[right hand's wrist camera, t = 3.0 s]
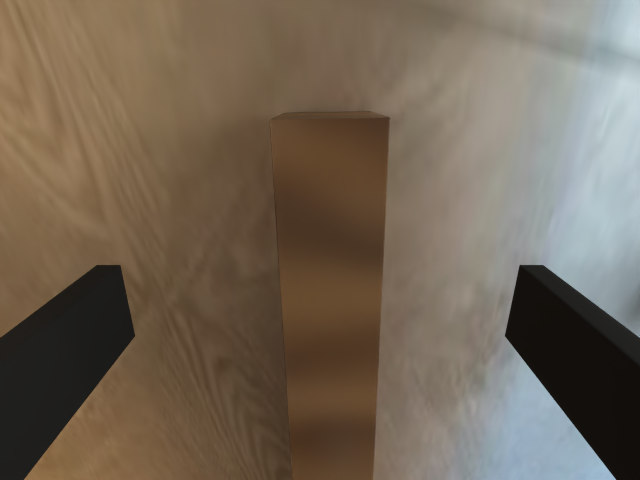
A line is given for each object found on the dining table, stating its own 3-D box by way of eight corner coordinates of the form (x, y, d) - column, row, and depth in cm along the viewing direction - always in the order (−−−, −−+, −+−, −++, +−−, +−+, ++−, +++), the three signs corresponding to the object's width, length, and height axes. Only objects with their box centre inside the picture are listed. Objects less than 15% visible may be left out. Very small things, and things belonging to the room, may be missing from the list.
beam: (284, 112, 23) (269, 119, 16) (369, 111, 23) (390, 117, 16) (308, 609, 42) (306, 707, 35) (355, 608, 42) (362, 707, 35)
